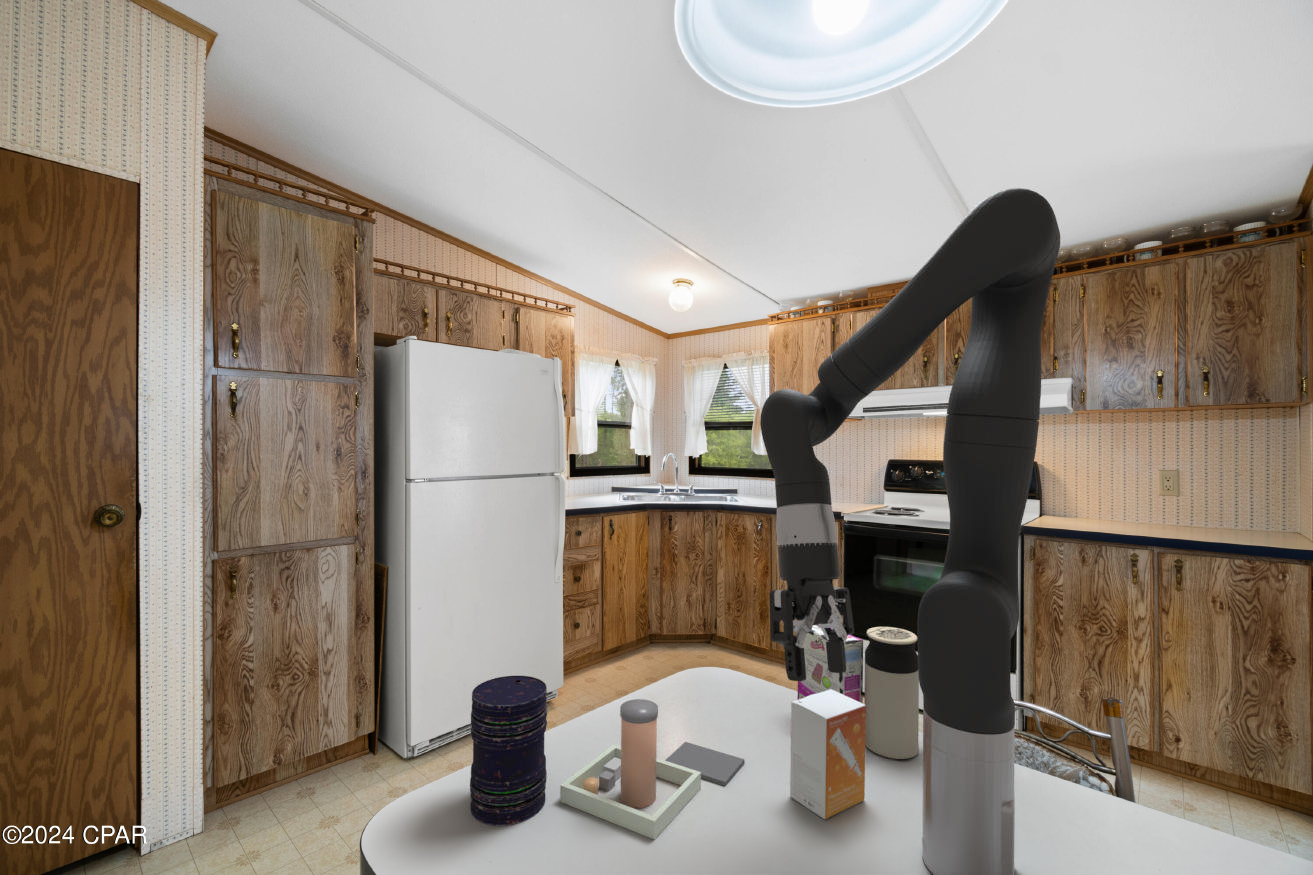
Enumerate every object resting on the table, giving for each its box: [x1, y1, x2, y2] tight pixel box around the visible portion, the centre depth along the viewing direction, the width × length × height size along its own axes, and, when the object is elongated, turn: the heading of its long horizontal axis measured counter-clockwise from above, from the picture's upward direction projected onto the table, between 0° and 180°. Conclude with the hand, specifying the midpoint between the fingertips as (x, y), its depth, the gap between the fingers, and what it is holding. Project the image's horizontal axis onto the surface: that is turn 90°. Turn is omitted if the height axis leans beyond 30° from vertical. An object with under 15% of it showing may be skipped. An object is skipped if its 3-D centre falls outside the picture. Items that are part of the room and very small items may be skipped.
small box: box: [789, 689, 866, 820], centre depth 81 cm, size 8×6×13 cm
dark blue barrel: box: [469, 675, 548, 827], centre depth 79 cm, size 10×10×15 cm
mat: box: [665, 741, 745, 787], centre depth 89 cm, size 10×7×1 cm
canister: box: [619, 698, 659, 809], centre depth 81 cm, size 5×5×12 cm
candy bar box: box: [796, 625, 864, 704], centre depth 101 cm, size 11×5×16 cm, turn 25°
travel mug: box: [863, 626, 920, 760], centre depth 95 cm, size 8×8×18 cm
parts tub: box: [559, 743, 702, 840], centre depth 81 cm, size 15×13×2 cm
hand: (818, 676), depth 73 cm, fingers open, 8 cm apart
